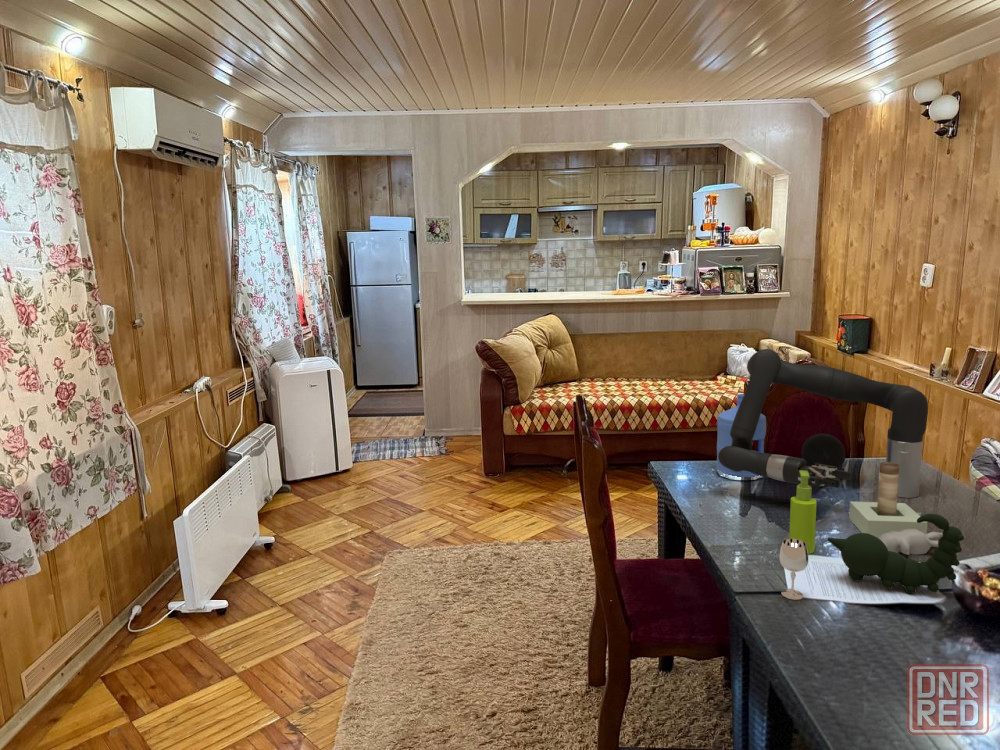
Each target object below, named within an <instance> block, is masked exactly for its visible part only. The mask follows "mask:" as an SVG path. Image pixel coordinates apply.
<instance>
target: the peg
mask: <svg viewBox="0 0 1000 750" xmlns="http://www.w3.org/2000/svg"><path fill="white" fill-rule="evenodd" d="M878 471H879V472H878V473H879V475H878V492H877V502H878V504H877V515H878V516H896V508H897V503H898V497H897V493H898V477H899V465H898V464H895V463H890V462H886V461H884V462H880V463H879V469H878Z"/></svg>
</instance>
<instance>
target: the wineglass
mask: <svg viewBox="0 0 1000 750" xmlns="http://www.w3.org/2000/svg"><path fill="white" fill-rule="evenodd" d="M778 558H779V563H780V565H781V567H783V568H784V569H786V570H787V571H789V572H790V579H791V587H790V588H789V589H787V588H786V589H783V590H782V591H781V593H780V594H781V595H782V596H783V597H784V598H787V599H789V600H794V601H795V600H802V599H803V598H804V593H802V592H800V591H798V590H796V589H795V579H796V575H797V574H796V573H799V572H801V571H804V570H805V569H806V568H807V567H808V565H809V554H808V550H807V546H806V543H805V542H803V541H801V540H798V539H789V538H785V539H783V540H782V543H781V546H780V548H779V557H778Z"/></svg>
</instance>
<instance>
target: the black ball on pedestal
mask: <svg viewBox="0 0 1000 750" xmlns="http://www.w3.org/2000/svg"><path fill="white" fill-rule="evenodd" d="M801 459H804V460H805V461H806V463H807V465H808V466H815V464H817V463H818V464H823V465H829V466H836V467H837V470H839V469H840V468H841V467H842V466H843V464H844V462H845V460H846V449H845V446H844V444H843V443H842V442H841V440H839V439H838V438H837V437H836V436H834V435H832V434H829V433H816V434H813V435H811V436H810V437H808V438H807V439H805V441H804V443H803V444H802V447H801ZM829 472H832V471H829ZM824 475H825V474H824ZM829 478H833V477H829ZM834 479H839V480H840V478H834ZM840 481H841V480H840Z"/></svg>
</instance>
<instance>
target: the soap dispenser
mask: <svg viewBox="0 0 1000 750" xmlns="http://www.w3.org/2000/svg"><path fill="white" fill-rule="evenodd" d="M799 473H800V476H801V484H796V495H795V496H792V497H791V498H790V511H789V515H790V516H789V535H788V536H789V538H788V539H798V540H801V541H803V542H805V543H806V546H807V550H808V555H811V553H812V554H813V552H814V553H815V546H816V542H815V541H816V525H817V524H816V523H817V522H816V521H817V505H818V503H817V500H816V499H815V498H813V497H812V489H813V488H812V487H813V486H811V485H808V478H809V473H808V471H802V470H799Z"/></svg>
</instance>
